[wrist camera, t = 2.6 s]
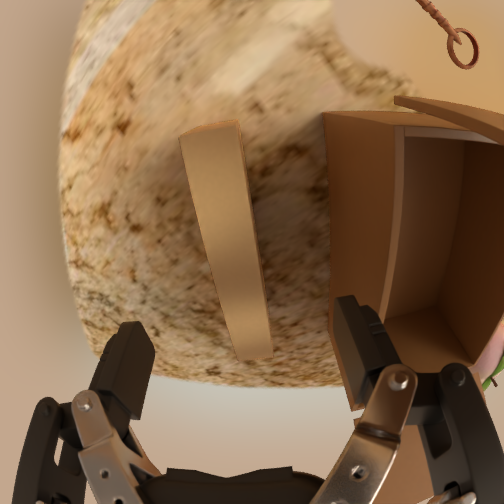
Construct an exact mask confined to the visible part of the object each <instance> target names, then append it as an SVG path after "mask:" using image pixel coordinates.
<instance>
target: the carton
mask: <svg viewBox="0 0 504 504" xmlns="http://www.w3.org/2000/svg"><path fill="white" fill-rule="evenodd" d="M394 104H395V105H399V106H402V107H406V108H409V109H413V110H416V111H419V112H423V113H426V114H419V113H406V112H386V111H335V112H322V114H323V123H324V134H325V145H326V158H327V172H328V191H329V219H330V287H329V314H328V333H329V337H330V340H331V343H332V346H333V350H334V353H335V356H336V359H337V363H338V366H339V370H340V373H341V376H342V380H343V383H344V387H345V390H346V394H347V398H348V401H349V405H350V409H351V411H356V410H360V409H364V408H365V407H364V404H363V403H360V404H356V405H355V403H354V399H353V396H352V392H351V389H350V386H349V382H348V379H347V376H346V373H345V369H344V366H343V363H342V360H341V357H340V354H339V351H338V348H337V345H336V342H335V338H334V334H333V311H334V299H335V298H336V297H341V296H347V295H352V294H353V295H354V296H355V298H356V300H357V302H358V304H359V306H363V305H368V306H370V307H371V308H372V309H373V310H375V311H376V312H377V314H378V316H379V318H380V320H381V321H382V324H383V325H384V327H385V329H386V332H387V333H388V335H389V337H390V339H391V341H392V343H393V345H394V347H395V349H396V351H397V353H398V355H399V357H400V360H401V361H402V363H403V364H404V365H406V366H408V367H410V368H411V369H413V370H414V372H418V373H437V372H441V370H442V368H443V367H444V366H446V365H447V364H449V363H454V362H456V363H461V364H463V365H465V366H466V367H467V368H468V369H470V368H472V367H474V366H475V365H476V364H477V362H478V361H479V359H480V358H481V356H482V354H483V353H484V351H485V350H486V348H487V346H488V345H489V343H490V341H491V339H492V338H493V336H494V334H495V332H496V330H497V329H498V327H499V325H500V323H501V321H502V319H503V317H504V115H503V114H499V113H496V112H492V111H488V110H484V109H480V108H475V107H471V106H467V105H462V104H456V103H451V102H445V101H439V100H432V99H425V98H417V97H407V96H396V95H395V96H394Z"/></svg>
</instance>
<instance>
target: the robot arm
mask: <svg viewBox="0 0 504 504" xmlns="http://www.w3.org/2000/svg"><path fill="white" fill-rule="evenodd" d="M333 334H334V338H335V342H336V345H337V348H338V351H339V354H340V357H341V360H342V363H343V366H344V369H345V373H346V376H347V379H348V382H349V386H350V389H351V392H352V396H353V399H354V403H355V405H356V404H360V403H363V404H364V407H365V410H364V412H363V414H362V416H361V418H360V420H359V422H358V424H357V426H356V428H355V430H354V432H353V433H352V435H351V437H350V439H349V441H348V443H347V445H346V446H345V448H344V450H343V452H342V454H341V455H340V457H339V459H338V460H337V462H336V464H335V465H334V467H333V469H332V470H331V472H330V474H329V475H328V477H327V478H326V480H324V479H322V478H320V477H318V476H315V475H312V474H308V473H304V472H297V471H293V470H292V466H290V467H281V468H271V469H260V470H256V471H253V472H249V473H245V474H242V475H238V476H234V477H229V478H224V477H219V476H216V475H211V474H208V473H204V472H200V471H197V470H185V469H174V468H167V473H166V474H164V475H162V474H161V473H160V471H159V470H158V469H157V468H156V467H155V466H154V465H153V464H152V463H151V462H150V460H149V459H148V457H147V456H146V454H145V452H144V450H143V449H142V447H141V445H140V443H139V441H138V439H137V438H136V436H135V434H134V432H133V430H132V428H131V427H130V425H129V422H130V419H133V420H140V418H141V413H142V409H143V404H144V399H145V395H146V391H147V387H148V382H149V378H150V375H151V371H152V367H153V363H154V359H155V349H154V346H153V343H152V342H151V340H150V338H149V336H148V335H147V333H146V331H145V329H144V327H143V325H142V324H141V322H139V321H132V322H123V323H122V324H121V325H120V328H119V330H118V332H117V334H114V335H113V336H112V337H111V338H110V340H109V341H108V342H107V344H106V346H105V348H104V351H103V354H102V355H101V358H100V361H99V363H98V365H97V368H96V370H95V373H94V376H93V378H92V381H91V383H90V386H89V389H88V390H83V391H81V392H80V393H78V394H77V395H76V396H75V397H74V399H73V401H72V402H69V403H62V404H59V403H57V402H56V401H55V400H54V399H53V398H51V397H45V398H43V399H42V400H40V401H39V402H38V404H37V405H36V408H35V410H34V413H33V417H32V419H31V422H30V425H29V429H28V432H27V436H26V439H25V442H24V446H23V450H22V453H21V457H20V462H19V466H18V470H17V475H16V480H15V486H14V492H13V498H12V504H84V498H85V489H86V482H87V481H88V483H89V485H90V488H91V490H92V492H93V494H94V497H95V499H96V501H97V503H98V504H372V503H373V501H374V499H375V497H376V495H377V494H378V492H379V490H380V488H381V486H382V484H383V482H384V480H385V478H386V476H387V474H388V472H389V470H390V468H391V466H392V463H393V461H394V459H395V457H396V454H397V452H398V449H399V447H400V444H401V439H400V437H401V434H402V431H403V428H404V426H405V425H417V427H418V430H419V434H420V437H421V441H422V445H423V448H424V452H425V456H426V460H427V464H428V469H429V473H430V477H431V482H432V487H433V492H434V497H433V498H432V499H430V500H429V502H428V503H427V504H504V453H503V450H502V447H501V443H500V441H499V438H498V435H497V432H496V429H495V426H494V424H493V421H492V418H491V416H490V413H489V411H488V409H487V406H486V404H485V401H484V399H483V397H482V394H481V392H480V390H479V388H478V386H477V384H476V381H475V379H474V377H473V375H472V373H471V371H470V370H469V369H468V368H467V367H466V366H465V365H463V364H461V363H456V362H454V363H449V364H447V365H446V366H444V367H443V368H442V370H441V372H437V373H418V372H414V370H413V369H411V368H410V367H408V366H406V365H404V364H403V363H402V361H401V360H400V357H399V355H398V353H397V351H396V349H395V347H394V345H393V343H392V341H391V339H390V337H389V335H388V333H387V332H386V329H385V327H384V325H383V324H382V321H381V320H380V318H379V316H378V314H377V312H376V311H375V310H373V309H372V308H371V307H370V306H368V305H363V306H359V304H358V302H357V300H356V298H355V296H354V295H353V294H352V295H347V296H341V297H336V298H335V299H334V311H333ZM58 438H60V439H62V440H63V441H64V442H63V446H62V451H61V456H60V460H59V465H58V466H57V465H56V463H55V461H54V454H55V450H56V446H57V442H58Z"/></svg>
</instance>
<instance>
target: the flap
mask: <svg viewBox="0 0 504 504" xmlns="http://www.w3.org/2000/svg"><path fill="white" fill-rule="evenodd" d="M473 377H474V379H475V381H476V384H477V386H478V388H479V390H480V392H481V394H482V397H483V399H484V401H485V396H484V392H483V388H482V384H481V380H480V376H479V372H476V373H474V374H473ZM485 404H486V401H485ZM360 418H361V417H360ZM360 418H357V419H354V425H355V428H356V426H357V424H358V422H359V420H360ZM400 439H401V444H400V447H399V449H398V452H397V454H396V457H395V459H394V461H393V463H392V466H391V468H390V470H389V472H388V474H387V476H386V478H385V480H384V482H383V484H382V486H381V488H380V490H379V492H378V494H377V495H376V497H375V499H374V501H373V503H372V504H417V503H419V502H421V501H423V500H425V499H428V498H430V497H432V496H434V492H433V487H432V482H431V477H430V473H429V469H428V464H427V460H426V456H425V452H424V448H423V445H422V441H421V437H420V434H419V430H418V427H417V425H405V426H404V428H403V431H402V434H401V437H400Z"/></svg>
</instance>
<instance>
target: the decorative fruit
mask: <svg viewBox="0 0 504 504" xmlns="http://www.w3.org/2000/svg"><path fill="white" fill-rule="evenodd" d="M503 369H504V325H503V324H502V323H500V325H499V327H498V329H497V330H496V332H495V334H494V336H493V338H492V339H491V341H490V343H489V345H488V346H487V348H486V350H485V351H484V353H483V354H482V356H481V358H480V359H479V361H478V362H477V364H476V365H475V366H474V367H472V368H470V369H469V370H470V371H471V373H472V375H473V374H474V373H476V372H479V376H480V380H481V384H482V388H483V392H484V391H485V390H486V389H487V387H488V386H489V385H490V383H491V382H493V384H494V386H495V387H497V386H498V385H497V383H496V382H495V380H494V379H495V378H496V377H497V375H498V374H499V373H500V372H501V371H502V370H503Z"/></svg>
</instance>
